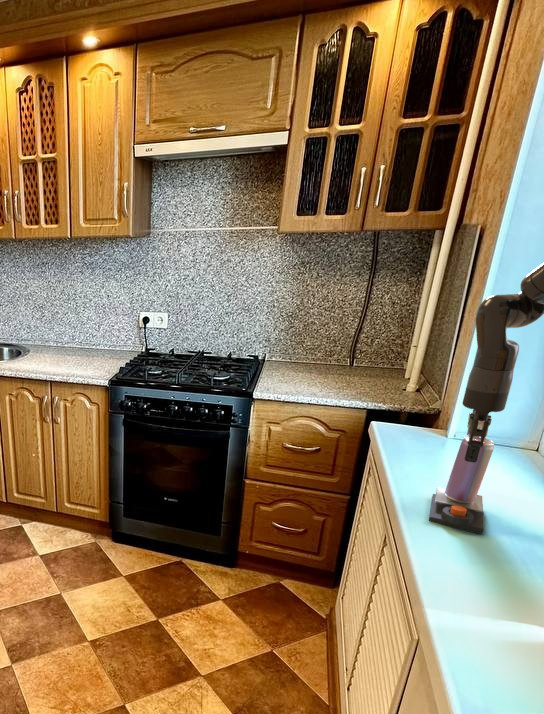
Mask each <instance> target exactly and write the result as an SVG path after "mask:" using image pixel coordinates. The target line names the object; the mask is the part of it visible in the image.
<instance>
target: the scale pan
mask: <svg viewBox="0 0 544 714" xmlns="http://www.w3.org/2000/svg"><path fill="white" fill-rule="evenodd" d="M445 490H446V487H439V486H437V487H436V491H435V494H436V498H435V503H440V504H445V505H449V506H454V505H457V506H461V507H464V508H466V509H468V510H473V511H477V512H483V513H484V503H483V502H484V501H483V495H480V494H477V496H476V499H475V501H473V502H472V503H460V502H456V501H454V500H451V499H450V498H448V497H447V496H446V494H445Z"/></svg>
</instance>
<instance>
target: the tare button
mask: <svg viewBox="0 0 544 714" xmlns="http://www.w3.org/2000/svg"><path fill="white" fill-rule="evenodd" d="M466 511H467V510H466V508H464V507H461V506H457V505H454V506H452V507H451V511H450V513H451V514H453V515H456V516H460V517H465V515H466Z"/></svg>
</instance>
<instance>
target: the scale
mask: <svg viewBox="0 0 544 714" xmlns="http://www.w3.org/2000/svg"><path fill="white" fill-rule="evenodd" d="M435 498H436V493H432V495H431V502H430V508H429V516H428V522H431V523H435V524H439V525H442V526H447V527H450V528H454V529H457V530H462V531H466V532H471V533H475V534H480V535H483V533H484V530H485V527H484V511H483V512H477V511H473V510H468V509H466V510H467V511H466V515H465V517H460V516H456V515H453V514H451V513H450V511H451V507H452V506H449V505H445V504H440V503H435Z"/></svg>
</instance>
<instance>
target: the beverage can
mask: <svg viewBox="0 0 544 714" xmlns="http://www.w3.org/2000/svg"><path fill="white" fill-rule="evenodd" d="M468 440H469V436H468V435H465V436H464V437H463V439H462V440H461V442H460V444H459V445H460V446H459V448H458V451H457V454H456V457H455V460H454V463H453V466H452V469H451V472H450V475H449V477H448V481H447V484H446V487H445V489H446V490H445V494H446V496H447V497H448V498H450V499H451V500H454V501H456V502H460V503H472V502H473V501H475V499H476V496H477V495H478V493H479V490H480V487H481V485H482V482H483V480H484V477H485V474H486V471H487V468H488V466H489V463H490V460H491V458H492V455H493V452H494V450H495V442H494V441H493V440H491V439H489V438H487V437H486V438H484V442H483V444H484V445H483V446H482V447H480V451H479V455H478V458H477V462H475V463H473V462H468V461H465V455H466V451H467V447H468V444H467V442H468ZM472 440H473V441H480V438H479V437H473V439H472Z"/></svg>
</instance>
